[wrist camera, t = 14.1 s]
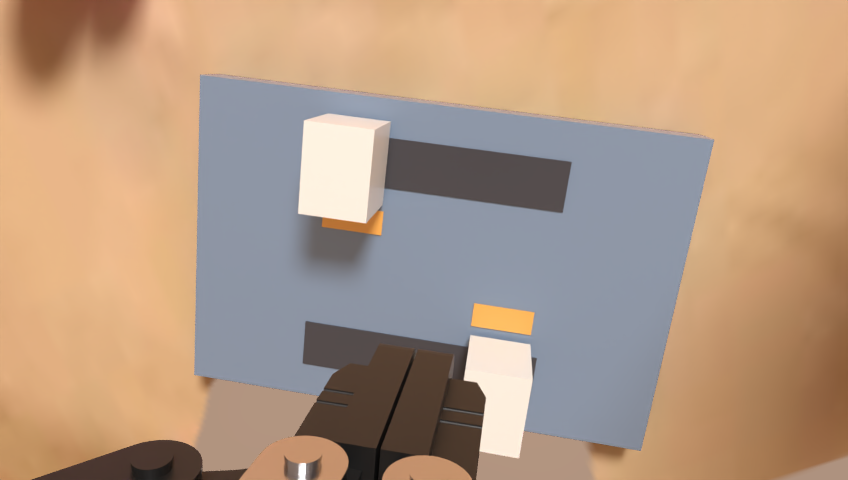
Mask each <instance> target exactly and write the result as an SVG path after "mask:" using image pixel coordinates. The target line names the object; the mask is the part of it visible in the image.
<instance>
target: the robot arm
mask: <svg viewBox="0 0 848 480" xmlns="http://www.w3.org/2000/svg"><path fill="white" fill-rule="evenodd" d="M453 368H454V354H450V353H444V352H437V351H430V350H423V349H418V351H417V352H416V348H409V347H402V346H396V345H389V344H382V343H380V344H379V346H378V348H377V350H376V351H375V353H374V355H373V357H372V359H371V361H370V363H369V365H368V366H365V365H359V364H352V363H350V364H348V365H346V366H345V367H343V368H341V369H340V370H338V371H337V372H335V373H333V374H332V376H331V377H330V379H329V381H328V382H327V384H326V385H325V387H324V391H322V392H321V394H320V395H319V397H318V398H317V402H316V403H314V405H313V407H312V408H311V410H310V412H309V413H308V415H307V416H306V418H305V420H304V421H303V423H302V425H301V426H300V428H299V430H298V431H297V433H296V434H295V436H294V437H288V438H284V439H281V440H279V441H276V442H274V443H272V444H270V445H269V446H268V447H266V448H265V449H264V450H263V451H262V452H261V453H260V454H259V456H258V457H257V458H256V459H255V461H254V462H253V463H252V464H251V466H250V467H249V468H248V469H242V470H228V471H206V472H202V457H201V455H200V453H199V452H198V451H197V450H196V449H195V448H194V447H192V446H190V445H188V444H186V443H183V442H178V441H172V440H156V441H148V442H143V443H140V444H136V445H133V446H130V447H127V448H124V449H121V450H118V451H115V452H112V453H109V454H106V455H103V456H100V457H97V458H94V459H91V460H88V461H86V462H83V463H80V464H77V465H74V466H71V467H68V468H65V469H62V470H59V471H56V472H53V473H50V474H47V475H44V476H41V477H38V478H35V479H32V480H476V473H477V466H478V458H479V450H480V442H481V434H482V426H483V419H484V411H485V403H486V397H485V395H484V393H483V392H482V390H481V388H480V387H479V385H478V383H477V382H471V381H464V380H458V379H452V377H453Z"/></svg>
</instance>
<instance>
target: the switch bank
mask: <svg viewBox="0 0 848 480" xmlns="http://www.w3.org/2000/svg"><path fill="white" fill-rule="evenodd" d="M328 113H329V114H337V115H345V116H352V117H360V118H368V119H375V120H383V121H391V126H390V136H389V146H388V156H387V166H386V176H385V186H384V196H383V205H382V206H381V207H380V208H379V209H378V211H377V212H376V213H375V214H374V215H373V216H372V217H371V218H370V220H369V221H368V222H367V223H360V222H353V221H346V220H339V219H332V218H325V217H318V216H311V215H304V214H298V207H299V191H300V175H301V159H302V143H303V127H304V120H307V119H311V118H314V117H318V116H321V115H324V114H328ZM713 142H714V140H713V139H711V138H708V137H706V136H703V135H698V134H690V133H682V132H674V131H666V130H658V129H650V128H642V127H634V126H627V125H619V124H611V123H603V122H595V121H587V120H579V119H571V118H563V117H555V116H547V115H539V114H531V113H523V112H515V111H507V110H499V109H492V108H484V107H476V106H468V105H460V104H452V103H444V102H436V101H428V100H420V99H412V98H404V97H396V96H388V95H380V94H372V93H365V92H357V91H349V90H341V89H333V88H325V87H317V86H309V85H301V84H293V83H285V82H277V81H269V80H261V79H253V78H245V77H238V76H230V75H222V74H208V75H200V115H199V166H198V218H197V269H196V320H195V372H194V375H198V376H204V377H210V378H216V379H222V380H228V381H234V382H239V383H246V384H252V385H257V386H263V387H269V388H275V389H281V390H286V391H292V392H298V393H304V394H310V395H316V396H319V395H320V394H321V392H322V391H324V387H325V385H326V384H327V382H328V381H329V379H330V377H331V376H332V374H333V373H335V372H337V371H338V370H340V369H341V368H343V367H345V366H346V365H348V364H350V363H352V364H359V365H365V366H368V365H369V363H370V361H371V359H372V357H373V355H374V353H375V351H376V350H377V348H378V346H379V344H380V343H382V344H389V345H396V346H402V347H409V348H416V352H417V351H418V349H423V350H430V351H437V352H444V353H450V354H454V368H453V377H452V379H458V380H464V375H465V368H466V362H467V355H468V348H469V341H470V335H474V336H480V337H486V338H493V339H499V340H505V341H512V342H518V343H524V344H530V346H531V361H532V376H533V382H532V387H531V393H530V399H529V404H528V410H527V415H526V421H525V427H524V431H528V432H533V433H539V434H545V435H551V436H557V437H563V438H569V439H574V440H580V441H586V442H592V443H598V444H604V445H610V446H616V447H621V448H627V449H633V450H639V451H641V448H642V444H643V439H644V435H645V431H646V427H647V422H648V418H649V414H650V410H651V405H652V401H653V397H654V393H655V388H656V384H657V380H658V376H659V371H660V367H661V363H662V359H663V355H664V350H665V346H666V342H667V338H668V333H669V329H670V325H671V321H672V316H673V312H674V308H675V304H676V299H677V295H678V291H679V287H680V282H681V278H682V274H683V270H684V265H685V261H686V257H687V253H688V248H689V244H690V240H691V236H692V232H693V227H694V223H695V219H696V215H697V210H698V206H699V202H700V198H701V193H702V189H703V185H704V181H705V176H706V172H707V168H708V164H709V159H710V155H711V151H712V147H713Z"/></svg>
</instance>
